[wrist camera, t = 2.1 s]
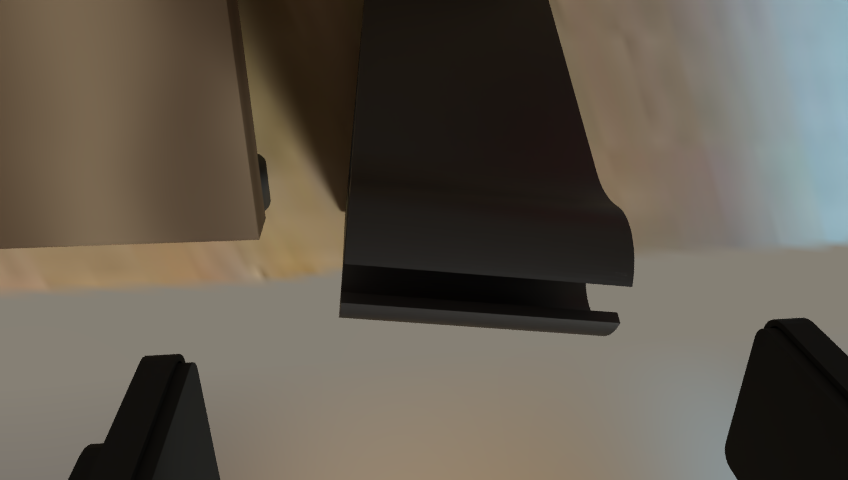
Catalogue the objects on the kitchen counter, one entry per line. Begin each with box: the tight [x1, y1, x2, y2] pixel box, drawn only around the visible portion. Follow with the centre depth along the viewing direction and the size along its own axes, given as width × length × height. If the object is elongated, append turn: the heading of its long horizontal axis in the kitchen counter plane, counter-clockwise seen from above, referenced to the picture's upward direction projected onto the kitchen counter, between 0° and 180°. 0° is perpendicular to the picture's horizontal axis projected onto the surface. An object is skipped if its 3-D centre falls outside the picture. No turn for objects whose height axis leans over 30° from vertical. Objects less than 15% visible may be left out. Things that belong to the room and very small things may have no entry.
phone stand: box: [339, 0, 634, 336], centre depth 19 cm, size 9×6×12 cm, turn 172°
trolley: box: [0, 0, 271, 249], centre depth 21 cm, size 14×9×4 cm, turn 90°
